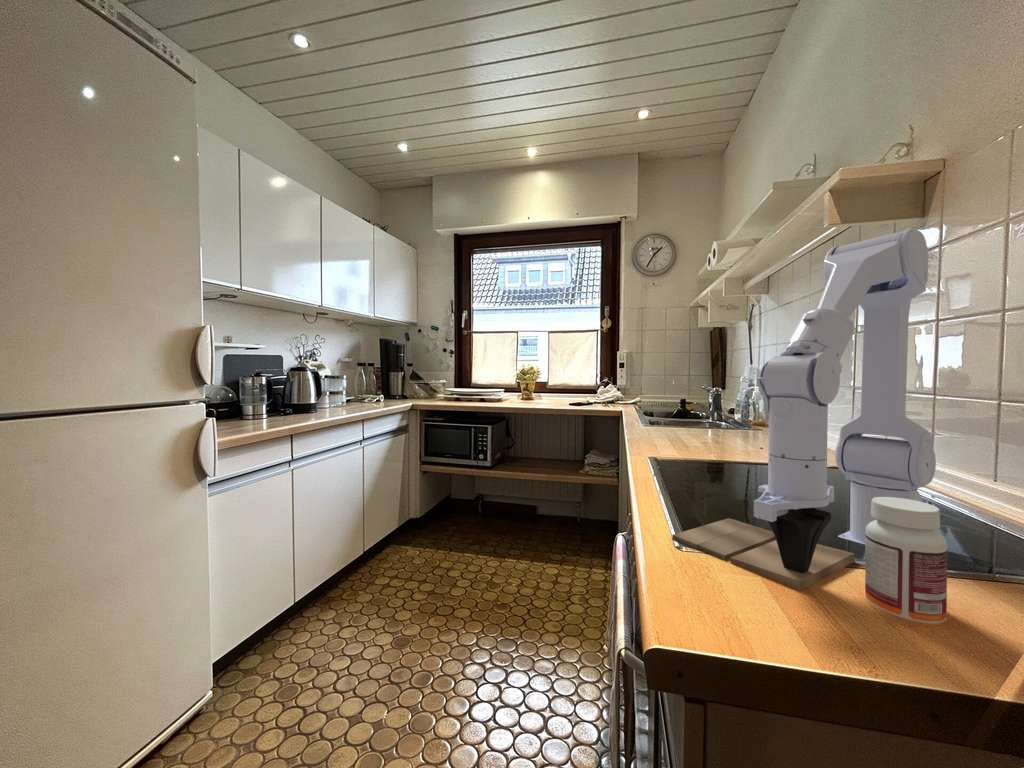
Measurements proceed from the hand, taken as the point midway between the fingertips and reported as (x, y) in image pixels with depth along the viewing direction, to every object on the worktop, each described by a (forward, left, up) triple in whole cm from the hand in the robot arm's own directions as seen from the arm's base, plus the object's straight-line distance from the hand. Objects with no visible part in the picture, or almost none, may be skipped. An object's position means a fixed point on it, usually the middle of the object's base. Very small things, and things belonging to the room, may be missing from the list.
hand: (795, 569), depth 49 cm
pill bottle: (-3, +9, -2) cm, 9 cm away
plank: (-4, -2, -1) cm, 5 cm away
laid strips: (-4, -11, -2) cm, 12 cm away
